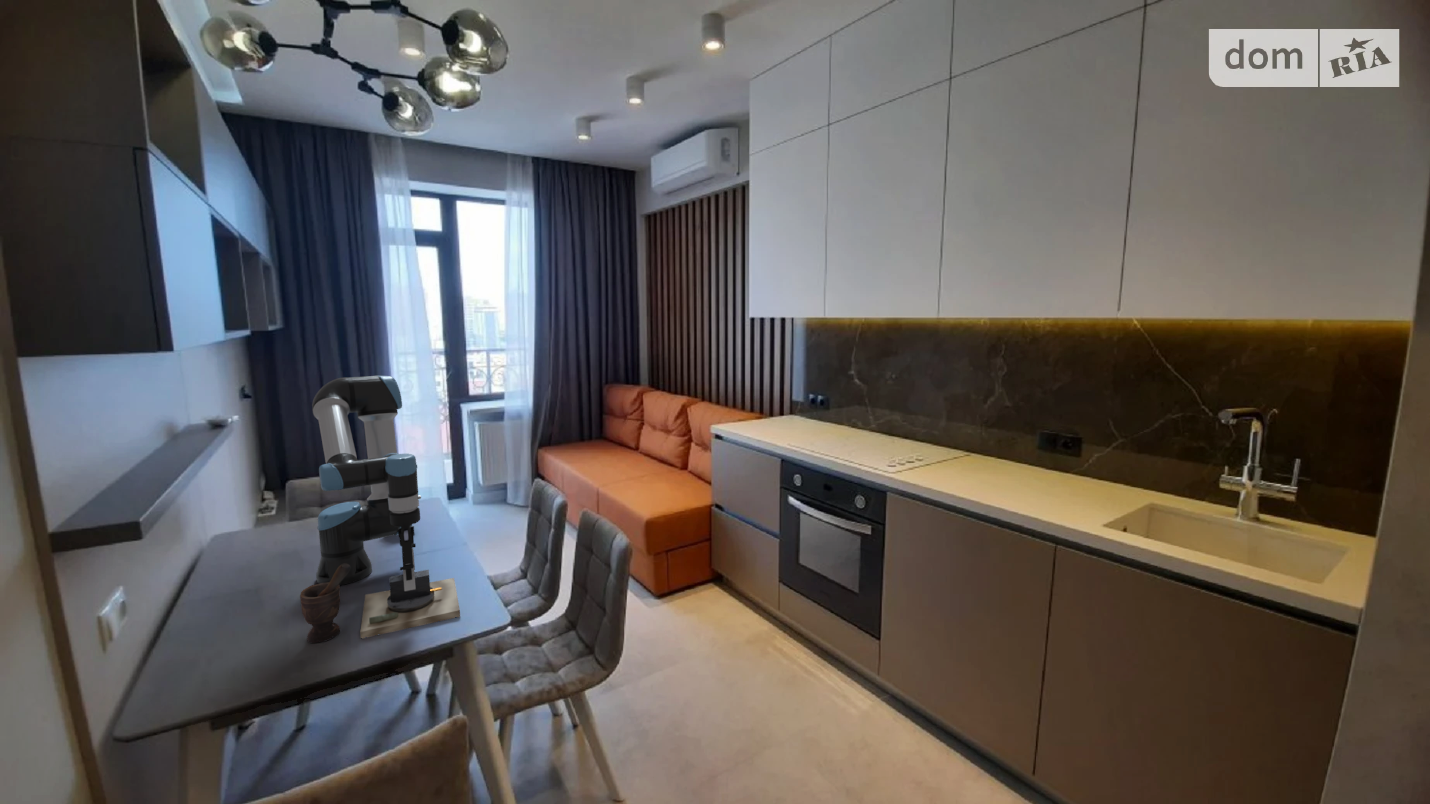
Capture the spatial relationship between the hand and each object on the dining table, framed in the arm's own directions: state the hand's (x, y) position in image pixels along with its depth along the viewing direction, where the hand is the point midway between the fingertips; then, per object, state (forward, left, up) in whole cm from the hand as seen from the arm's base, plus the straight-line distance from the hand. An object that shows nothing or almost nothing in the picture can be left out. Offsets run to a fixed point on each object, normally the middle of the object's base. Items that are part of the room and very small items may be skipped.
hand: (409, 579), depth 161 cm
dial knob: (+1, 0, -7) cm, 7 cm away
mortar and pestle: (-19, -5, -9) cm, 22 cm away
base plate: (0, 0, -9) cm, 9 cm away
